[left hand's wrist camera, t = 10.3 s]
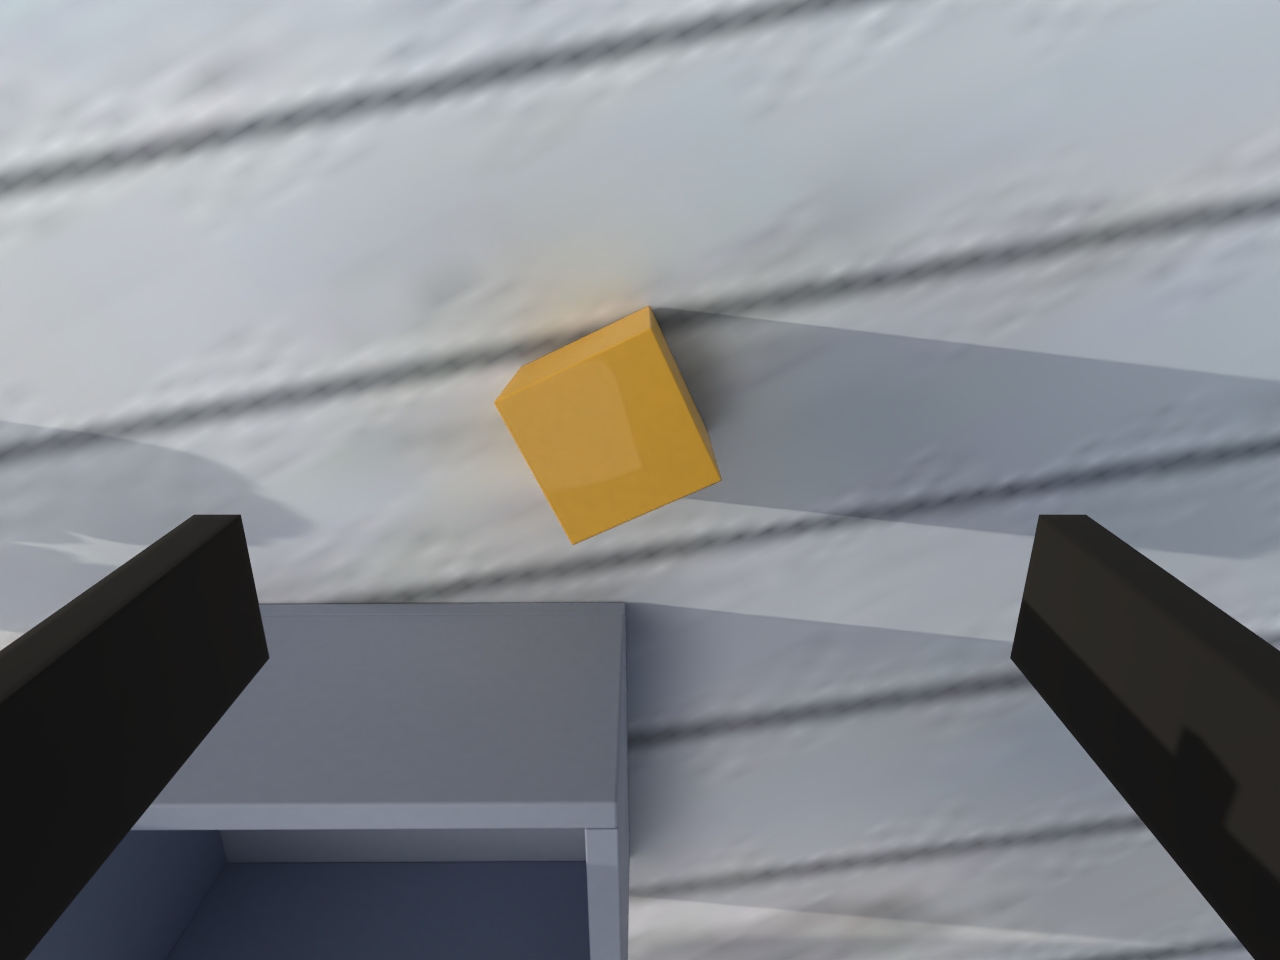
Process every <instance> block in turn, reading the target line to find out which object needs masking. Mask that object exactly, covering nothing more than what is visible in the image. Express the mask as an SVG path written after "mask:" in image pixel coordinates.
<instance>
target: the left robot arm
mask: <svg viewBox="0 0 1280 960" xmlns="http://www.w3.org/2000/svg"><path fill="white" fill-rule="evenodd" d="M269 658H270V657H269V652H268V647H267V643H266V638H265V633H264V628H263V623H262V618H261V613H260V608H259V603H258V598H257V593H256V588H255V583H254V578H253V573H252V568H251V563H250V558H249V553H248V548H247V543H246V538H245V534H244V529H243V524H242V519H241V515H193V516H192V517H190V518H189V519H187V520H186V521H185V522H183V523H182V524H180V525H179V526H177V527H176V528H175V529H173V530H172V531H170V532H169V533H168V534H166V535H165V536H163V537H162V538H160V539H159V540H158V541H156V542H155V543H153V544H152V545H150V546H149V547H148V548H146V549H145V550H143V551H142V552H140V553H139V554H138V555H136V556H135V557H133V558H132V559H131V560H129V561H128V562H126V563H125V564H123V565H122V566H121V567H119V568H118V569H116V570H115V571H113V572H112V573H111V574H109V575H108V576H106V577H105V578H104V579H102V580H101V581H99V582H98V583H96V584H95V585H94V586H92V587H91V588H89V589H88V590H86V591H85V592H84V593H82V594H81V595H79V596H78V597H77V598H75V599H74V600H72V601H71V602H69V603H68V604H67V605H65V606H64V607H62V608H61V609H59V610H58V611H57V612H55V613H54V614H52V615H51V616H49V617H48V618H47V619H45V620H44V621H42V622H41V623H40V624H38V625H37V626H35V627H34V628H32V629H31V630H30V631H28V632H27V633H25V634H24V635H22V636H21V637H20V638H18V639H17V640H15V641H14V642H13V643H11V644H10V645H8V646H7V647H5V648H4V649H3V650H1V651H0V960H25V959H26V958H27V957H28V956H29V954H30V953H31V952H32V951H33V949H34V948H35V947H36V946H37V944H38V943H39V942H40V941H41V940H42V938H43V937H44V936H45V935H46V933H47V932H48V931H49V930H50V928H51V927H52V926H53V925H54V923H55V922H56V921H57V920H58V919H59V917H60V916H61V915H62V914H63V912H64V911H65V910H66V909H67V907H68V906H69V905H70V904H71V903H72V901H73V900H74V899H75V898H76V896H77V895H78V894H79V893H80V891H81V890H82V889H83V888H84V886H85V885H86V884H87V883H88V882H89V880H90V879H91V878H92V877H93V875H94V874H95V873H96V872H97V870H98V869H99V868H100V867H101V866H102V864H103V863H104V862H105V861H106V859H107V858H108V857H109V856H110V854H111V853H112V852H113V851H114V849H115V848H116V847H117V846H118V845H119V843H120V842H121V841H122V840H123V838H124V837H125V836H126V835H127V833H128V832H129V831H130V830H131V829H132V827H133V826H134V825H135V824H136V822H137V821H138V820H139V819H140V817H141V816H142V815H143V814H144V812H145V811H146V810H147V809H148V808H149V806H150V805H151V804H152V803H153V801H154V800H155V799H156V798H157V796H158V795H159V794H160V793H161V791H162V790H163V789H164V788H165V787H166V785H167V784H168V783H169V782H170V780H171V779H172V778H173V777H174V775H175V774H176V773H177V772H178V771H179V769H180V768H181V767H182V766H183V764H184V763H185V762H186V761H187V759H188V758H189V757H190V756H191V754H192V753H193V752H194V751H195V750H196V748H197V747H198V746H199V745H200V743H201V742H202V741H203V740H204V738H205V737H206V736H207V735H208V734H209V732H210V731H211V730H212V729H213V727H214V726H215V725H216V724H217V722H218V721H219V720H220V719H221V717H222V716H223V715H224V714H225V713H226V711H227V710H228V709H229V708H230V706H231V705H232V704H233V703H234V701H235V700H236V699H237V698H238V697H239V695H240V694H241V693H242V692H243V690H244V689H245V688H246V687H247V685H248V684H249V683H250V682H251V680H252V679H253V678H254V677H255V676H256V674H257V673H258V672H259V671H260V669H261V668H262V667H263V666H264V664H265V663H266V662H267V661H268V660H269ZM1010 658H1011V660H1012V661H1013V662H1014V663H1015V664H1016V666H1017V667H1018V668H1019V669H1020V671H1021V672H1022V673H1023V674H1024V676H1025V677H1026V678H1027V679H1028V680H1029V682H1030V683H1031V684H1032V685H1033V687H1034V688H1035V689H1036V690H1037V692H1038V693H1039V694H1040V695H1041V697H1042V698H1043V699H1044V700H1045V701H1046V703H1047V704H1048V705H1049V706H1050V708H1051V709H1052V710H1053V711H1054V713H1055V714H1056V715H1057V716H1058V717H1059V719H1060V720H1061V721H1062V722H1063V724H1064V725H1065V726H1066V727H1067V729H1068V730H1069V731H1070V732H1071V734H1072V735H1073V736H1074V737H1075V738H1076V740H1077V741H1078V742H1079V743H1080V745H1081V746H1082V747H1083V748H1084V750H1085V751H1086V752H1087V753H1088V754H1089V756H1090V757H1091V758H1092V759H1093V761H1094V762H1095V763H1096V764H1097V766H1098V767H1099V768H1100V769H1101V771H1102V772H1103V773H1104V774H1105V775H1106V777H1107V778H1108V779H1109V780H1110V782H1111V783H1112V784H1113V785H1114V787H1115V788H1116V789H1117V790H1118V791H1119V793H1120V794H1121V795H1122V796H1123V798H1124V799H1125V800H1126V801H1127V803H1128V804H1129V805H1130V806H1131V808H1132V809H1133V810H1134V811H1135V812H1136V814H1137V815H1138V816H1139V817H1140V819H1141V820H1142V821H1143V822H1144V824H1145V825H1146V826H1147V827H1148V829H1149V830H1150V831H1151V832H1152V833H1153V835H1154V836H1155V837H1156V838H1157V840H1158V841H1159V842H1160V843H1161V845H1162V846H1163V847H1164V848H1165V849H1166V851H1167V852H1168V853H1169V854H1170V856H1171V857H1172V858H1173V859H1174V861H1175V862H1176V863H1177V864H1178V866H1179V867H1180V868H1181V869H1182V870H1183V872H1184V873H1185V874H1186V875H1187V877H1188V878H1189V879H1190V880H1191V882H1192V883H1193V884H1194V885H1195V886H1196V888H1197V889H1198V890H1199V891H1200V893H1201V894H1202V895H1203V896H1204V898H1205V899H1206V900H1207V901H1208V903H1209V904H1210V905H1211V906H1212V907H1213V909H1214V910H1215V911H1216V912H1217V914H1218V915H1219V916H1220V917H1221V919H1222V920H1223V921H1224V922H1225V923H1226V925H1227V926H1228V927H1229V928H1230V930H1231V931H1232V932H1233V933H1234V935H1235V936H1236V937H1237V938H1238V940H1239V941H1240V942H1241V943H1242V944H1243V946H1244V947H1245V948H1246V949H1247V951H1248V952H1249V953H1250V954H1251V956H1252V957H1253V958H1254V959H1255V960H1280V651H1279V650H1277V649H1276V648H1275V647H1273V646H1272V645H1270V644H1269V643H1267V642H1266V641H1265V640H1263V639H1262V638H1260V637H1259V636H1258V635H1256V634H1255V633H1253V632H1252V631H1250V630H1249V629H1248V628H1246V627H1245V626H1243V625H1242V624H1240V623H1239V622H1238V621H1236V620H1235V619H1233V618H1232V617H1231V616H1229V615H1228V614H1226V613H1225V612H1223V611H1222V610H1221V609H1219V608H1218V607H1216V606H1215V605H1213V604H1212V603H1211V602H1209V601H1208V600H1206V599H1205V598H1204V597H1202V596H1201V595H1199V594H1198V593H1196V592H1195V591H1194V590H1192V589H1191V588H1189V587H1188V586H1186V585H1185V584H1184V583H1182V582H1181V581H1179V580H1178V579H1176V578H1175V577H1174V576H1172V575H1171V574H1169V573H1168V572H1167V571H1165V570H1164V569H1162V568H1161V567H1159V566H1158V565H1157V564H1155V563H1154V562H1152V561H1151V560H1149V559H1148V558H1147V557H1145V556H1144V555H1142V554H1141V553H1140V552H1138V551H1137V550H1135V549H1134V548H1132V547H1131V546H1130V545H1128V544H1127V543H1125V542H1124V541H1122V540H1121V539H1120V538H1118V537H1117V536H1115V535H1114V534H1112V533H1111V532H1110V531H1108V530H1107V529H1105V528H1104V527H1103V526H1101V525H1100V524H1098V523H1097V522H1095V521H1094V520H1093V519H1091V518H1090V517H1088V516H1087V515H1039V519H1038V524H1037V529H1036V534H1035V538H1034V543H1033V548H1032V553H1031V558H1030V563H1029V568H1028V573H1027V578H1026V583H1025V588H1024V593H1023V598H1022V603H1021V608H1020V613H1019V618H1018V623H1017V628H1016V633H1015V638H1014V643H1013V647H1012V652H1011V657H1010Z"/></svg>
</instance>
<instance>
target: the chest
mask: <svg viewBox="0 0 1280 960" xmlns="http://www.w3.org/2000/svg"><path fill="white" fill-rule="evenodd" d="M259 608H260V613H261V618H262V623H263V628H264V633H265V638H266V643H267V647H268V652H269V657H270V658H269V660H268V661H267V662H266V663H265V664H264V666H263V667H262V668H261V669H260V671H259V672H258V673H257V674H256V676H255V677H254V678H253V679H252V680H251V682H250V683H249V684H248V685H247V687H246V688H245V689H244V690H243V692H242V693H241V694H240V695H239V697H238V698H237V699H236V700H235V701H234V703H233V704H232V705H231V706H230V708H229V709H228V710H227V711H226V713H225V714H224V715H223V716H222V717H221V719H220V720H219V721H218V722H217V724H216V725H215V726H214V727H213V729H212V730H211V731H210V732H209V734H208V735H207V736H206V737H205V738H204V740H203V741H202V742H201V743H200V745H199V746H198V747H197V748H196V750H195V751H194V752H193V753H192V754H191V756H190V757H189V758H188V759H187V761H186V762H185V763H184V764H183V766H182V767H181V768H180V769H179V771H178V772H177V773H176V774H175V775H174V777H173V778H172V779H171V780H170V782H169V783H168V784H167V785H166V787H165V788H164V789H163V790H162V791H161V793H160V794H159V795H158V796H157V798H156V799H155V800H154V801H153V803H152V804H151V805H150V806H149V808H148V809H147V810H146V811H145V812H144V814H143V815H142V816H141V817H140V819H139V820H138V821H137V822H136V824H135V825H134V826H133V827H132V829H131V830H130V831H129V832H128V833H127V835H126V836H125V837H124V838H123V840H122V841H121V842H120V843H119V845H118V846H117V847H116V848H115V849H114V851H113V852H112V853H111V854H110V856H109V857H108V858H107V859H106V861H105V862H104V863H103V864H102V866H101V867H100V868H99V869H98V870H97V872H96V873H95V874H94V875H93V877H92V878H91V879H90V880H89V882H88V883H87V884H86V885H85V886H84V888H83V889H82V890H81V891H80V893H79V894H78V895H77V896H76V898H75V899H74V900H73V901H72V903H71V904H70V905H69V906H68V907H67V909H66V910H65V911H64V912H63V914H62V915H61V916H60V917H59V919H58V920H57V921H56V922H55V923H54V925H53V926H52V927H51V928H50V930H49V931H48V932H47V933H46V935H45V936H44V937H43V938H42V940H41V941H40V942H39V943H38V944H37V946H36V947H35V948H34V949H33V951H32V952H31V953H30V954H29V956H28V957H27V958H26V959H25V960H628V914H629V798H628V732H627V665H626V604H625V603H624V602H605V603H427V604H259Z"/></svg>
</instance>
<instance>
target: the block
mask: <svg viewBox="0 0 1280 960" xmlns="http://www.w3.org/2000/svg"><path fill="white" fill-rule="evenodd" d="M494 403H495V405H496V407H497V409H498V411H499V412H500V414H501V416H502V418H503V420H504V422H505V423H506V425H507V427H508V429H509V431H510V432H511V434H512V436H513V438H514V440H515V442H516V443H517V445H518V447H519V449H520V451H521V452H522V454H523V456H524V458H525V460H526V462H527V463H528V465H529V467H530V469H531V471H532V472H533V474H534V476H535V478H536V480H537V481H538V483H539V485H540V487H541V489H542V491H543V492H544V494H545V496H546V498H547V500H548V501H549V503H550V505H551V507H552V509H553V511H554V512H555V514H556V516H557V518H558V520H559V521H560V523H561V525H562V527H563V529H564V530H565V532H566V534H567V536H568V538H569V540H570V541H571V543H572V544H573V545H574V544H576V543H579V542H581V541H583V540H586V539H588V538H590V537H593V536H595V535H597V534H600V533H602V532H604V531H606V530H609V529H611V528H613V527H616V526H618V525H620V524H623V523H625V522H627V521H629V520H632V519H634V518H636V517H639V516H641V515H643V514H646V513H648V512H650V511H652V510H655V509H657V508H659V507H662V506H664V505H666V504H669V503H671V502H673V501H676V500H678V499H680V498H682V497H685V496H687V495H689V494H692V493H694V492H696V491H699V490H701V489H703V488H705V487H708V486H710V485H712V484H715V483H717V482H719V481H721V476H720V472H719V469H718V465H717V462H716V459H715V455H714V452H713V448H712V445H711V442H710V438H709V435H708V432H707V430H706V427H705V425H704V423H703V421H702V419H701V417H700V414H699V412H698V410H697V408H696V406H695V403H694V401H693V399H692V397H691V395H690V392H689V390H688V388H687V386H686V384H685V382H684V379H683V377H682V375H681V373H680V371H679V368H678V366H677V364H676V362H675V360H674V358H673V355H672V353H671V351H670V349H669V347H668V344H667V342H666V340H665V338H664V336H663V333H662V331H661V329H660V327H659V325H658V323H657V320H656V318H655V316H654V314H653V312H652V309H651V307H650V306H648V307H645V308H643V309H641V310H639V311H637V312H635V313H633V314H631V315H629V316H627V317H625V318H622V319H620V320H618V321H616V322H614V323H612V324H610V325H608V326H606V327H604V328H602V329H599V330H597V331H595V332H593V333H591V334H589V335H587V336H585V337H583V338H581V339H579V340H577V341H574V342H572V343H570V344H568V345H566V346H564V347H562V348H560V349H558V350H556V351H554V352H551V353H549V354H547V355H545V356H543V357H541V358H539V359H537V360H535V361H533V362H531V363H528V364H526V365H524V366H522V367H521V368H520V369H519V370H518V372H517V373H516V374H515V376H514V377H513V378H512V380H511V381H510V382H509V384H508V385H507V386H506V387H505V389H504V390H503V391H502V393H501V394H500V395H499V397H498V398H497V399H496V401H495V402H494Z"/></svg>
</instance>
